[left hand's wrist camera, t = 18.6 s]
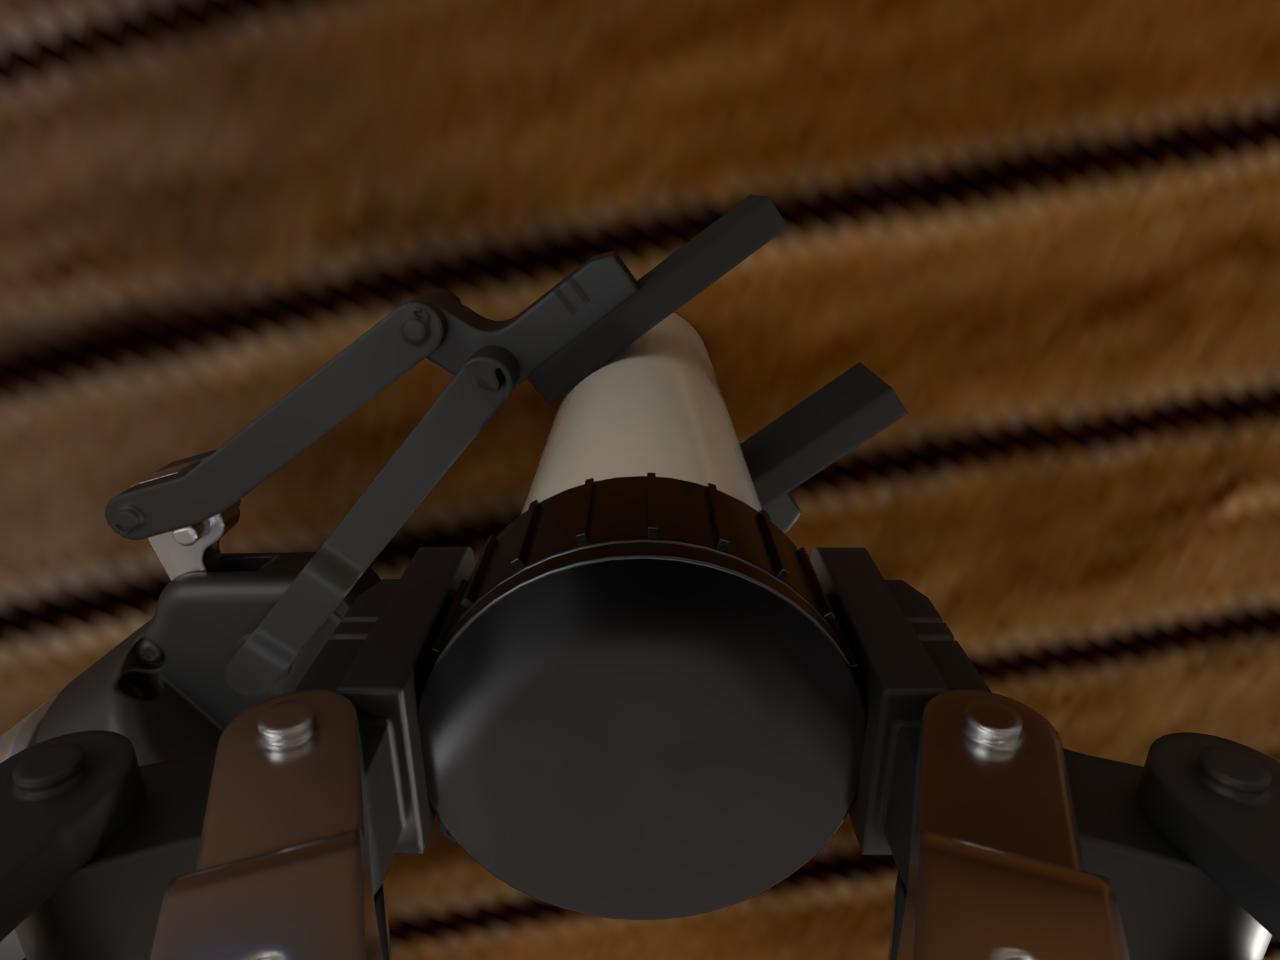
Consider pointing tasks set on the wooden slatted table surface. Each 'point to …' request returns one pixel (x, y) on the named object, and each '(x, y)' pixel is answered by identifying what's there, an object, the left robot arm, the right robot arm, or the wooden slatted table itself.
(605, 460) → the cream bottle
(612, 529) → the lid
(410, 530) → the wooden slatted table surface
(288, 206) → the wooden slatted table surface
